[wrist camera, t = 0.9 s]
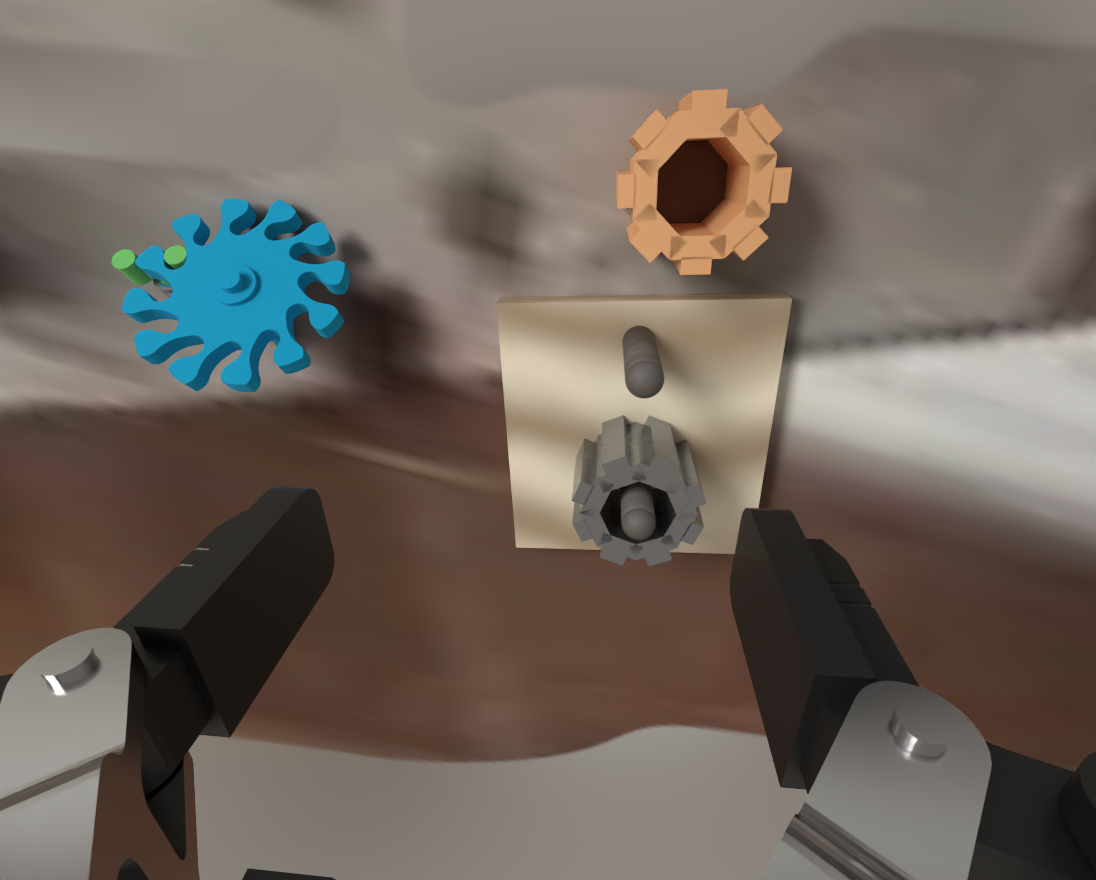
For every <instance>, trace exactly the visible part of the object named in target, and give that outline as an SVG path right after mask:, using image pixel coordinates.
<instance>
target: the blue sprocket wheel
mask: <svg viewBox="0 0 1096 880" xmlns="http://www.w3.org/2000/svg"><path fill="white" fill-rule="evenodd" d="M221 212H222V225H221V228H220V230H219V232H218V234H217V235H216V237H215V238H214V240H213V241H212V242H211V243H210V244H208V245H204V244H205V243H206V241H207V240H208V238H209V236H210V229H209V228H208V226H207V225H206V224H205V223H204V222H203V221H202V219H201V218H200V217H199V216H198V215H197V214H190V215H186V216H183V217H181V218H178V219H176V220H174V221H173V223H172V227H173V230H174V231H175V232H176V233H177V234H178V235H179V236H180V238H181V239H182V240H183V241H184V242H185V245H186V249H185V248H184V247H182V246H172V247H170V248H168V249H167V250H166V252H164V251H163V250H162V249H161V248H160V247H158V246H155V245H153V246H151V247H149V248H148V249H146V250H145V251H144V252H143V253H142V254H141V255H140V256H139V257H138V256H137V255H135V254H134V253H133V252H132V251H130V250H121V251H119V252H117V253H116V254H115V255H114V256H113V258H112V264H113V266H114V267H115V268H117V269H118V270H119V271H120V272H122V273H123V274H124V275H125V276H126V277H128V278H129V279H130V280H131V281H133V282H134V283H135V284H137V285H144V284H146V283H148V282H150V281H151V280H152V279H153V282H154V284H155V286H156V287H157V288H158V289H160V290H161V291H162V292H163V293H164V294H165V295H167V296H168V297H169V298H168V299H167V300H165V301H161V302H158V301H157V300H156V299H154V298H153V297H152V296H151V295H150V294H148V293H147V292H146V291H145V290H143V289H140V288H134V289H130V291H129V292H128V293H127V295H126V297H125V299H124V302H123V306H122V311H123V312H125V313H126V314H127V315H129V316H130V317H131V318H133V319H134V320H136V321H137V322H141V323H145V322H149V321H152V320H157V319H173V320H177V321H179V324H178V326H177V328H176V329H175V330H174V331H172V332H170V333H167V334H163V333H159V332H157V331H154V330H143V331H141V332H139V333H137V334H136V335H135V346H136V349H137V352H138V354H139V356H140V357H142V358H143V359H145V360H146V361H148V362H149V363H151V364H160V363H163V362H164V361H166V360H167V359H168V358H169V357H170V356H171V355H173V354H174V353H176V352H177V351H179V350H181V349H183V348H186V347H189V346H193V345H199V344H204V347H203V349H202V351H201V352H200V353H198V354H197V355H194V356H188V357H182V358H179V359H177V360H175V361H174V362H173V363H172V364H171V365H170V367H169V369H168V370H169V372H170V373H171V374H172V375H173V376H174V377H175V378H176V379H178V380H179V381H181V382H182V383H184V384H185V385H187V386H188V387H190V388H192V389H193V390H195V391H198V390H200V389H202V388H203V387H204V386H205V385H206V384H207V383H208V380H209V377H210V375H211V373H212V371H213V369H214V368H215V367H216V365H217V364H218V363H219V362H220V361H221V360H223V359H224V358H225V357H227V356H228V355H230V354H231V353H233V352H234V351H236V350H242V352H241V355H240V356H239V357H238V358H237V359H236V360H235V361H233V362H232V363H230V364H229V365H227V366H226V367H225V368H224V369H223V371H222V374H221V381H222V382H223V383H225V384H226V385H227V386H229V387H230V388H231V389H234V390H236V391H241V392H255V391H256V390H257V389H258V388H259V386H260V382H261V380H260V376H259V369H258V367H259V360H260V357H261V355H262V352H263V350H264V349H265V347H266V345H267V344H268V342H270V341H271V340H272V341H273V342H274V343H275V344H276V345H277V348H276V349H275V351H274V354H273V359H274V362H275V364H276V365H277V366H278V367H279V368H281V369H282V370H283V371H284V372H285V373H286V374H290V373H294V372H298V371H300V370H302V369H304V368H306V367H308V366H310V363H311V360H310V356H309V355H308V354H307V353H306V351H305V350H304V349H303V348H302V347H301V346H300V345H299V344H298V343H297V342H296V339H295V336H294V320H295V318H296V317H297V316H298V315H300V314H302V313H309V320H310V323H311V325H312V326H313V327H314V328H315V330H316V331H317V332H318V334H319V335H320V336H322V337H324V338H329V337H331V336H332V335H334V334H335V333H336V332H337V331H338V330H339V328H340V327H341V326H342V324H343V323H344V320H343V318H342V316H341V315H340V313H339V312H338V310H337V309H336V308H335V307H334V306H332V305H330V304H323V303H319V302H316V301H314V300H312V299H310V298H309V297H307V296H306V295H305V288H306V286H307V285H308V284H310V283H312V282H321V283H323V284H324V285H325V286H326V287H327V288H328V290H329V291H330V292H332V293H334V294H345V293H346V291H347V289H348V287H349V283H350V276H351V273H350V272H349V270H348V268H347V266H346V264H345V263H343V262H342V261H337V260H334V261H330V262H327V263H323V264H307V263H303V262H299V261H297V259H298V257H299V256H301V255H302V254H304V253H312V254H315V255H318V256H329V255H331V254H333V253H334V252H335V244H334V242H333V240H332V238H331V236H330V234H329V232H328V230H327V229H326V227H325V225H324V224H323V223H315V224H312V225H311V226H309V227H308V228H307V229H306V230H305V231H303V232H302V233H301V234H299V235H297V236H294V237H292V238H288V239H283V240H276V241H273V240H274V238H275V237H276V236H278V235H280V234H285V233H292V232H295V231H297V230H298V229H299V228H300V227H301V226H302V223H303V222H302V221H301V219H300V217H299V216H298V214H297V213H296V211H295V210H294V208H293V207H291V206H290V205H289V204H287V203H285V202H283V201H281V200H278V201H276V202H274V203H273V204H272V205H271V206H270V208H269V211H268V213H267V215H266V217H265V218H264V220H263V221H262V222H261V223H260V224H259V225H258V226H256V227H255V228H254V229H252V230H250V231H249V232H247V233H245V234H243V235H240V233H241V232H242V231H244V230H245V229H247V228H249V227H250V226H252V225H253V224H254V223H255V221H256V217H257V216H256V213H255V211H254V210H253V209H252V207H251V206H250V204H249V203H248V202H247V201H244V200H240V199H225V200H224V201H223V203H222V204H221Z"/></svg>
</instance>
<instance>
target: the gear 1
mask: <svg viewBox="0 0 1096 880" xmlns="http://www.w3.org/2000/svg"><path fill="white" fill-rule="evenodd" d="M727 91H728V89H714V90H698V91H697V90H696V91H692V92H691V93H689V94H688V95H687V96H686V97H684V98H683V99H682V100H680V101H679V110H678V111H677V112H676V113H674V114H673V115H671V116H670V117H668V118H667V119H665V118H664V117H663V116H662V114H661V113H660V112H659V111H658V110H657V109H656V110H655V111H654V112H653V113H652V114H651V115H650V116H649V117H648V119H647V120H646V121H645V122H644V123H643V124H642V125H641V127H640V128H639V129H638V130H637V131H636V132H635V133H634V135H633V136H632V137H631V138H630V139H629V141H630V142H631V143H632V144H633V145H634V146H635V147H636V148H637V150H638V151H637V152H636V153H635V155H634V156H633V157H632V158H631V159H630V171H618V172H617V187H616V202H617V208H629V212H630V215H631V218H632V221H633V222H632V223H631V224H630V225H629V226H628V227H627V232H628V236H629V241H630V242H631V243H632V244H633V245H634V246H635V247H636V249H637V250H638V251H639V252H640V253H641V254H642V255H643V256H644V257H645V258H646V259H647V260H648V261H649V262H650V263H651V262H652V261H653V260H654V259H655V258H656V257H657V256H658V255H659V254H660V253H661V252H662V253H663V254H664V255H665V256H666V257H667V258H668V259H669V260H672V262H673V263H674V265H675V267H676V268H677V270H678V272H679V273H680V275H704V274H711V264H712V259H724V258H725V257H727V256H728V255H729V254H730V253H731V252H733V253H734V254H736V255H737V256H738V257H740V258H741V259H742V260H743V261H744V260H745V259H746V258H747V257H748V256H749V255H750V254H751V253H752V252H754V251H755V250H756V249H757V248H758V247H759V246H760V245H761V244H762V243H763V242H764V241H766V240H767V239H768V238H769V237H768V236H767V235H766V234H765V233H764V232H763V231H762V229H761V228H760V227H759V226H760V225H761V224H762V223H763V222H764V221H765V220H766V219H767V218H768V217H769V213H770V205H771V203H787V200H788V194H789V187H790V180H791V173H792V167H776V160H777V153H776V151H775V150H774V149H773V148H772V147H771V145H770V144H769V143H770V142H771V141H772V140H773V139H774V138H775V137H776V136H777V135H778V134H779V133H780V132H781V131H782V130H783V129H782V128H781V126H780V125H779V124H778V123H777V121H776V120H775V119H774V118H773V116H772V115H771V114H770V113H769V112H768V110H767V109H766V108H765V107H764V105H763V104H759V105H757V106H754V107H751V108H748V109H745V110H741V109H740V108H726V102H727ZM696 140H707V141H708V142H709V143H710V144H711V145H712V146H713V148H714V149H715V150H716V151H717V152H718V153H719V155H720V156H721V157H722V158H723V159H724V161H725V162H726V163H727V164H728V168H727V178H726V188H725V199H724V200H723V201H722V202H721V203H720V204H719V205H718V206H717V207H716V208H715V209H714V210H713V211H712V212H711V213H710V214H709V215H708V216H707V217H706V218H705V219H704V220H703V221H702V222H701V223H681V224H669V223H668V222H667V221H666V219H665V218H664V217H663V216H662V215H661V214H660V213H659V212H658V211H657V210H656V204H657V182H658V169H659V168H660V167H661V166H662V165H663V164H664V163H665V162H666V161H667V160H668V159H669V158H670V156H671V155H672V154H673V153H674V152H675V151H676V150H677V149H678V148H679V147H680V146H681V145H682V143H683V142H684V141H696Z"/></svg>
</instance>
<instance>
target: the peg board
mask: <svg viewBox="0 0 1096 880" xmlns="http://www.w3.org/2000/svg"><path fill="white" fill-rule="evenodd" d="M791 303H792V298H791V297H790V296H788V295H787V294H786V293H747V294H688V295H630V296H572V297H514V298H500V299H499V301H498V302H497V303H496V304H497V316H498V329H499V341H500V353H501V366H502V378H503V390H504V402H505V415H506V427H507V439H508V452H509V464H510V476H511V489H512V501H513V513H514V525H515V538H516V547H524V548H556V549H588V550H601V547H598V546H596V544H595V542H594V540H593V539H590V540H587V541H583V542H581V540H580V538H579V536H578V534H577V532H576V530H575V528H574V526H573V524H572V520H573V510H574V502H573V501H571V500H572V491H573V482H574V473H575V464H576V456H577V454H578V451H579V449H580V447H581V445H582V443H583V440H584V438H585V439H588V440H590V441H593V442H595V441H596V439H597V436H598V435H600V434H602V423H603V422H606V421H608V420H611V419H614V418H617V417H619V416H622V415H623V416H624V418H625V420H626V423H627V424H630V423H633V422H638V423H641V424H643V425H644V424H645V422H646V420H647V418H648V416H649V415H650V416H652V417H655V418H658V419H660V420H663V421H665V422H668V423H670V427H671V431H672V435H673V437H674V440H675V442H676V443H677V442H680V441H683V440H686V439H687V442H688V444H689V447H690V449H691V452H692V455H693V457H694V460H695V464H696V468H697V471H698V475H699V478H700V482H701V486H702V489H703V493H704V496H705V500H706V503H707V504H705V505H701V506H699V509H700V513H701V517H702V521H703V524H704V528H703V530H702V531H701V533H700V535H699V536H698V538H697V539H696V541H695V542H694V544H693V545H690V544H688V543H685V542H682V541H681V543H680V544H679V546H678V547H677V548H676V549H673V550H670V552H685V553H717V554H735V549H736V543H737V538H738V532H739V527H740V521H741V517H742V513H743V511H744V509H745V508H759V501H760V495H761V489H762V483H763V477H764V470H765V464H766V458H767V452H768V446H769V439H770V433H771V427H772V421H773V415H774V408H775V402H776V396H777V390H778V384H779V377H780V371H781V365H782V359H783V353H784V346H785V340H786V334H787V328H788V322H789V315H790V309H791ZM654 488H655V487H653V486H650V485H647V484H645V483H642V482H636V483H633V484H630V485H627V486H624V487H620V488H617V490H620V497H621V524H622V528H623V531H624V532H625V533H626V535H628V536H629V537H630V538H633V539H636V540H642V539H645V538H647V537H649V536H650V535H651V534H652V533H653V531H654V529H655V525H656V520H655V512H654V505H653V497H652V489H654Z"/></svg>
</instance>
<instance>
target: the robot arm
mask: <svg viewBox="0 0 1096 880" xmlns="http://www.w3.org/2000/svg"><path fill="white" fill-rule="evenodd" d="M333 568H334V551H333V547H332V543H331V539H330V535H329V531H328V527H327V523H326V519H325V515H324V511H323V507H322V503H321V499H320V496H319V494H318V493H317V491H316V490H314V489H309V488H285V487H273V488H271V489H269V490H268V491H267V492H266V493H265V494H264V495H263V496H262V497H261V498H260V499H259V500H258V501H257V502H256V503H255V504H254V505H253V506H252V507H251V508H250V509H249V510H248V511H247V512H242V513H240V514H239V515H237V516H235V517H233V518H232V519H230V520H228V521H227V522H225V523H223V524H221V525H220V526H218V527H216V528H215V529H214V530H213V531H212V532H211V533H210V534H209V535H208V536H207V537H206V538H205V539H204V540H203V541H202V542H201V543H200V544H199V545H198V546H197V549H196V551H192V552H191V553H189V554H188V555H187V556H186V557H185V558H184V559H183V560H182V561H181V562H180V566H179V567H175V568H174V569H173V570H172V571H171V572H170V573H169V574H168V575H167V576H166V577H165V578H164V579H163V580H162V581H161V582H160V583H159V584H157V585H156V586H155V587H154V588H153V589H152V590H151V591H150V592H149V593H148V594H147V595H146V596H145V597H144V598H143V599H142V600H141V601H140V602H139V603H138V604H137V605H136V606H135V607H134V608H133V609H132V610H131V611H130V612H129V613H128V614H127V615H125V616H124V617H123V618H122V619H121V620H120V621H119V622H118V623H117V624H116V625H115V626H114V627H113V628H98V629H92V630H87V631H84V632H80V633H77V634H74V635H72V636H69V637H66V638H64V639H62V640H60V641H58V642H56V643H54V644H52V645H50V646H48V647H47V648H45V649H43V650H42V651H40V652H39V653H37V654H36V655H34V656H33V657H32V658H30V659H29V660H28V661H27V662H26V663H24V664H23V665H22V666H21V667H20V668H19V669H18V670H17V671H16V672H15V673H14V674H9V675H3V676H0V880H200V878H199V871H198V855H197V833H196V812H195V790H194V769H193V760H192V757H191V755H190V753H189V751H188V750H189V749H190V747H191V746H192V745H193V743H194V742H195V740H196V739H197V737H198V736H199V735H209V736H220V737H231V735H232V734H233V732H234V730H235V729H236V727H237V726H238V724H239V723H240V721H241V720H242V718H243V716H244V715H245V713H246V712H247V710H248V709H249V707H250V705H251V704H252V702H253V701H254V699H255V698H256V696H257V695H258V693H259V691H260V690H261V688H262V687H263V685H264V684H265V682H266V681H267V679H268V677H269V676H270V674H271V673H272V671H273V670H274V668H275V667H276V665H277V663H278V662H279V660H280V659H281V657H282V656H283V654H284V652H285V651H286V649H287V648H288V646H289V645H290V643H291V642H292V640H293V638H294V637H295V635H296V634H297V632H298V631H299V629H300V628H301V626H302V624H303V623H304V621H305V620H306V618H307V617H308V615H309V613H310V612H311V610H312V609H313V607H314V606H315V604H316V603H317V601H318V599H319V598H320V596H321V595H322V593H323V592H324V590H325V589H326V587H327V585H328V584H329V582H330V579H331V576H332V573H333ZM730 595H731V604H732V609H733V613H734V617H735V620H736V624H737V628H738V632H739V635H740V639H741V643H742V646H743V650H744V654H745V658H746V661H747V665H748V669H749V672H750V676H751V680H752V684H753V687H754V691H755V695H756V698H757V702H758V706H759V709H760V713H761V717H762V721H763V724H764V728H765V732H766V735H767V739H768V743H769V746H770V750H771V754H772V757H773V761H774V765H775V769H776V772H777V776H778V780H779V783H780V787H783V788H796V789H806V790H807V794H808V796H807V798H806V800H805V802H804V804H803V806H802V808H801V810H800V812H799V814H798V815H797V814H795V816H794V817H793V818H792V820H791V822H790V824H789V825H788V827H787V829H786V831H785V833H784V835H783V837H782V839H781V841H780V843H779V845H778V847H777V849H776V851H775V853H774V855H773V857H772V859H771V861H770V863H769V865H768V867H767V869H766V871H765V873H764V875H763V877H762V879H761V880H1096V752H1095V753H1092V754H1090V755H1088V756H1087V757H1086V758H1085V759H1084V760H1083V761H1082V763H1081V764H1080V766H1079V767H1078V768H1077V770H1076V771H1075V772H1073V771H1070V770H1067V769H1064V768H1061V767H1058V766H1055V765H1052V764H1048V763H1045V762H1042V761H1039V760H1036V759H1033V758H1030V757H1027V756H1024V755H1021V754H1018V753H1015V752H1012V751H1009V750H1006V749H1004V748H1001V747H998V746H996V745H993V744H991V743H988V742H986V741H985V740H984V738H983V737H982V735H981V733H980V732H979V731H978V729H977V728H976V727H975V726H974V724H973V723H972V722H971V721H970V720H969V719H968V718H967V717H966V716H965V715H964V714H963V713H962V712H960V711H959V710H958V709H957V708H956V707H954V706H953V705H952V704H950V703H949V702H947V701H946V700H944V699H943V698H941V697H939V696H937V695H936V694H934V693H932V692H930V691H927V690H925V689H923V688H920V686H919V685H918V683H917V681H916V680H915V678H914V676H913V674H912V673H911V671H910V669H909V668H908V666H907V664H906V662H905V661H904V659H903V657H902V655H901V654H900V652H899V650H898V649H897V647H896V645H895V643H894V642H893V640H892V638H891V636H890V635H889V633H888V631H887V629H886V628H885V626H884V624H883V623H882V621H881V619H880V617H879V616H878V614H877V612H876V610H875V609H874V608H871V602H870V600H869V598H868V597H867V595H866V593H865V591H864V590H863V588H860V583H859V581H858V579H857V578H856V576H855V574H854V572H853V571H852V569H851V567H850V565H849V564H848V562H847V560H846V559H845V558H843V557H842V556H841V555H840V554H839V553H838V552H836V551H835V550H834V549H833V548H832V547H831V546H829V545H828V544H827V543H826V542H825V541H823V540H822V539H806V538H805V536H804V534H803V532H802V530H801V528H800V526H799V524H798V522H797V520H796V518H795V516H794V514H793V513H792V511H791V510H788V509H764V508H745V509H744V511H743V513H742V517H741V521H740V527H739V532H738V538H737V543H736V549H735V555H734V560H733V566H732V571H731V579H730ZM242 880H335V879H333V878H331V877H321V876H312V875H303V874H294V873H285V872H275V871H265V870H257V869H247V871H246V873H245V875H244V877H243V879H242Z"/></svg>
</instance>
